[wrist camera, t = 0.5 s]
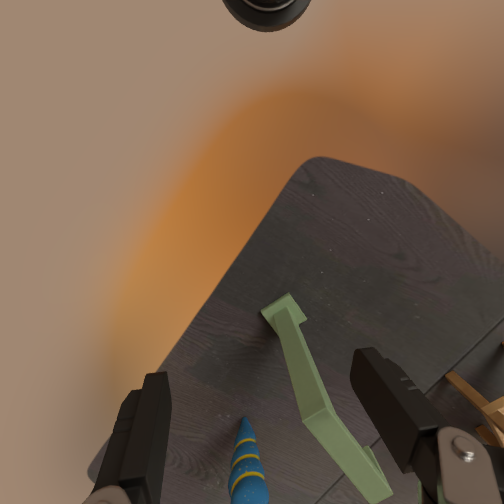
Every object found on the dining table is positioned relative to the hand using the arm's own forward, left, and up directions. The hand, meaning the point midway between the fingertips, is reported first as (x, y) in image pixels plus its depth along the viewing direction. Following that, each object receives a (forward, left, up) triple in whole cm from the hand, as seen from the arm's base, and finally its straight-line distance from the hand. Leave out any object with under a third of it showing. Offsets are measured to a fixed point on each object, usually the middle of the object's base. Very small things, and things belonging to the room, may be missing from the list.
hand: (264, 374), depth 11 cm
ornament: (+31, +4, -27) cm, 41 cm away
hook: (+14, +10, -27) cm, 32 cm away
